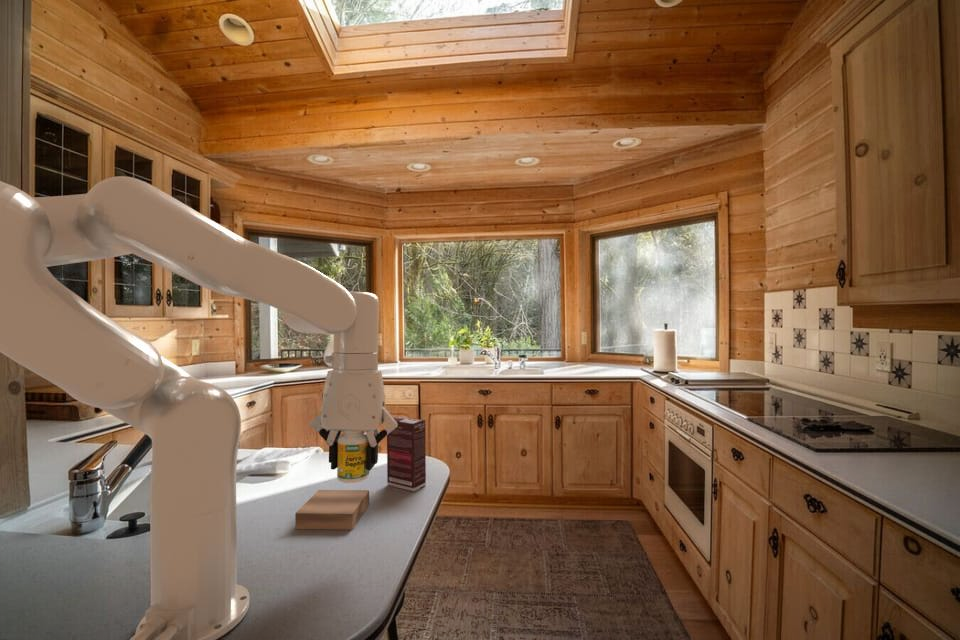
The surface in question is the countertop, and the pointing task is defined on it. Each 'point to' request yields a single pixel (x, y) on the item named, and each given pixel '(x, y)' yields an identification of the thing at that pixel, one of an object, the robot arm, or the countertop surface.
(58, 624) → the countertop surface
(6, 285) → the robot arm
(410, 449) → the supplement box
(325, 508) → the square wooden block
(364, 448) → the supplement bottle
